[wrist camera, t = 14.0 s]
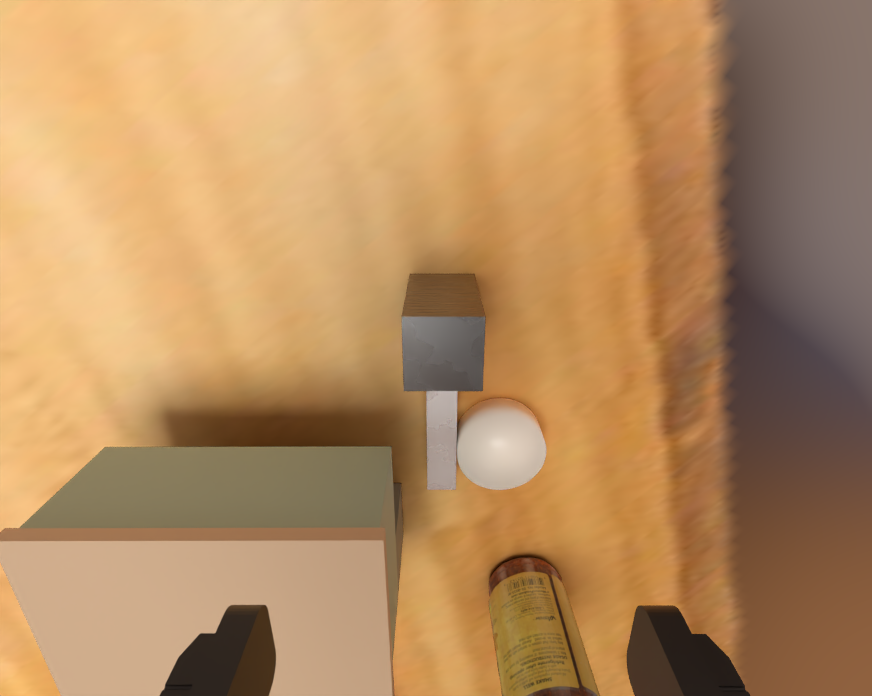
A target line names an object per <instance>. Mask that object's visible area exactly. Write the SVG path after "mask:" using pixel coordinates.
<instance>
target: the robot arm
mask: <svg viewBox="0 0 872 696" xmlns="http://www.w3.org/2000/svg"><path fill="white" fill-rule="evenodd" d="M275 667H276V649H275V644H274V639H273V633H272V628H271V623H270V617H269V612H268V608H267V606H266V605H230V606H229V607H228V608H227V609H226V611H225V613H224V615H223V617H222V619H221V622H220V624H219V626H218V628H217V631H216V633H200V634H199V635H198V636H197V637H196V639H195V640H194V641H193V642H192V643H191V644H190V645H189V646H188V647H187V648H186V649H185V651H184V652H183V653H182V654H181V655H180V656H179V657H178V659H177V661H176V663H175V665H174V667H173V669H172V671H171V673H170V675H169V678H168V680H167V682H166V684H165V688H164V690H162V692H161V694H160V696H269V694H270V691H271V687H272V684H273V679H274V674H275ZM627 668H628V674H629V679H630V683H631V686H632V689H633V692H634V695H635V696H750V694H749V693H748V692H746V690H745V685H744V684H743V682H742V680H741V678H740V676H739V675H738V673H737V671H736V669H735V668H734V666H733V664H732V662H731V660H730V659H729V657H728V656H727V655H726V654H725V653H724V652H723V651H722V650H721V649H720V648H719V647H718V646H717V645H716V644H715V643H714V642H713V641H712V640H711V639H710V638H709V637H708V636H707V635H706V634H692V633H691V631H690V629H689V627H688V626H687V624H686V622H685V620H684V618H683V616H682V614H681V612H680V611H679V609H678V608H677V607H675V606H638V607H637V609H636V612H635V617H634V621H633V626H632V631H631V636H630V640H629V645H628V650H627Z"/></svg>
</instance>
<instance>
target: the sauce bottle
mask: <svg viewBox="0 0 872 696" xmlns="http://www.w3.org/2000/svg"><path fill="white" fill-rule="evenodd" d="M489 610H490V616H491V623H492V630H493V638H494V644H495V650H496V657H497V665H498V671H499V676H500V682H501V690H502V696H600V695H599V692H598V689H597V686H596V683H595V680H594V676H593V673H592V670H591V667H590V664H589V661H588V658H587V655H586V652H585V648H584V645H583V642H582V639H581V636H580V633H579V630H578V627H577V623H576V620H575V617H574V614H573V611H572V608H571V605H570V602H569V598H568V595H567V592H566V589H565V587H564V585H563V583H562V581H561V577H560V575H559V574H558V573H557V571H556V570H555V569H554V568H553V567H552V566H551V565H550V564H548V563H546V562H545V561H543V560H541V559H537V558H533V557H530V558H529V557H527V558H521V557H520V558H516V559H512V560H510V561H508V562H504V563H503V564H502V565H501V566H499V567H498V568H497V569H496V571H495V572H494V573H493V574H492V576H491V578H490V581H489Z"/></svg>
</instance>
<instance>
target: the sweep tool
mask: <svg viewBox="0 0 872 696" xmlns="http://www.w3.org/2000/svg"><path fill="white" fill-rule="evenodd" d="M484 342H485V313H484V309H483V305H482V302H481V298H480V294H479V290H478V286H477V283H476V279H475V275H474V274H410V277H409V282H408V287H407V292H406V297H405V302H404V307H403V312H402V346H403V380H404V391H426V401H427V490H456V448H457V391H483V367H484Z"/></svg>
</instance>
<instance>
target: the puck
mask: <svg viewBox="0 0 872 696" xmlns="http://www.w3.org/2000/svg"><path fill="white" fill-rule="evenodd" d="M545 458H546V443H545V440H544V437H543V434H542V432H541V429H540V426H539V423H538V420H537V418H536V416H535V415H534V414H533V412H532V411H531V410H530V409H529V408H528V407H526V406H525V405H524V404H522V403H520V402H518V401H515V400H512V399H507V398H493V399H487V400H484V401H481V402H479V403H477V404H475V405H474V406H472V407H471V408H470V409H468V410H467V411H466V412H465V413H464V415H463V416H462V417H461V419H460V421H459V423H458V426H457V459H458V463H459V466H460V468H461V470H462V472H463V473H464V474H465V476H466V477H467V478H468V479H469V480H471V481H472V482H473V483H475V484H477V485H479V486H481V487H484V488H488V489H494V490H505V489H511V488H515V487H518V486H520V485H523V484H525V483H526V482H528V481H529V480H531V479H532V478H533V477H534V476H535V475H536V474H537V473H538V472H539V471H540V469H541V468H542V466H543V464H544V461H545Z"/></svg>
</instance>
